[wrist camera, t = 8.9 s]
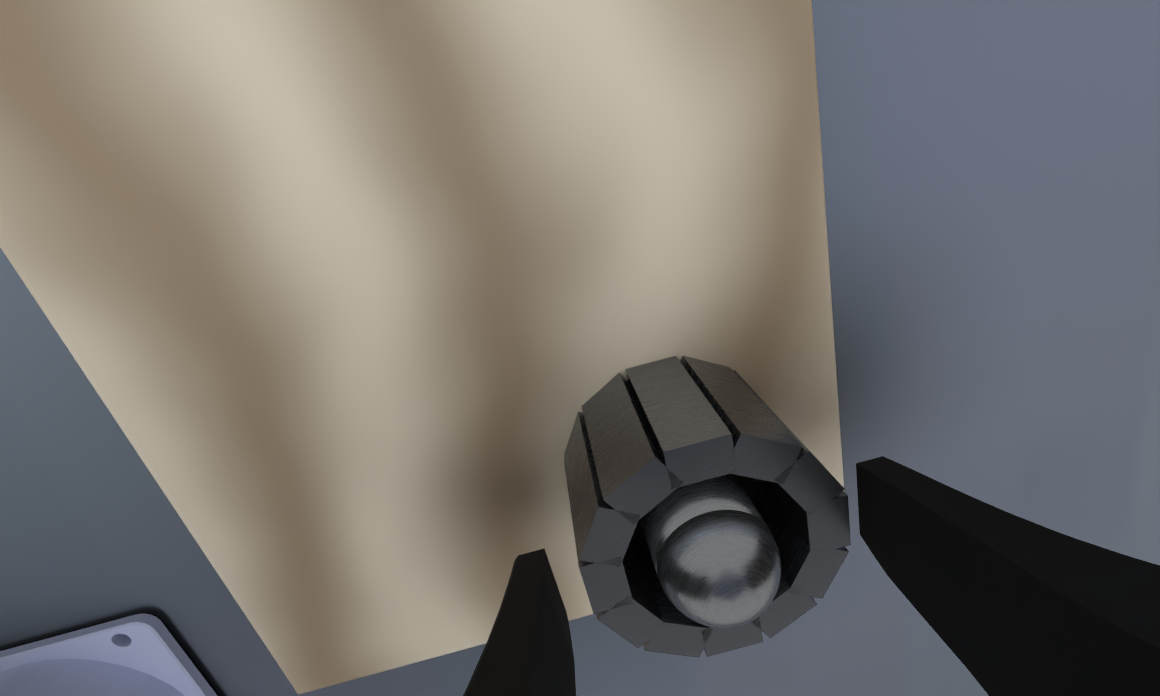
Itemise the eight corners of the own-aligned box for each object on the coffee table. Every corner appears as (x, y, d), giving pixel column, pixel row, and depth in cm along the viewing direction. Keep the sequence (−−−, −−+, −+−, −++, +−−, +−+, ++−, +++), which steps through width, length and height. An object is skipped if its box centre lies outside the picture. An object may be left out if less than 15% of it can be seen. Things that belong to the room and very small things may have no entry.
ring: (593, 557, 16) (615, 682, 13) (543, 390, 14) (551, 481, 10) (778, 507, 16) (854, 616, 13) (757, 333, 14) (842, 404, 10)
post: (633, 505, 16) (684, 672, 11) (613, 430, 15) (661, 577, 10) (719, 481, 16) (809, 637, 11) (705, 405, 15) (798, 539, 10)
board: (309, 665, 18) (298, 694, 17) (-134, -34, 10) (-198, -51, 9) (830, 523, 18) (848, 544, 17) (767, -269, 11) (790, -308, 10)
